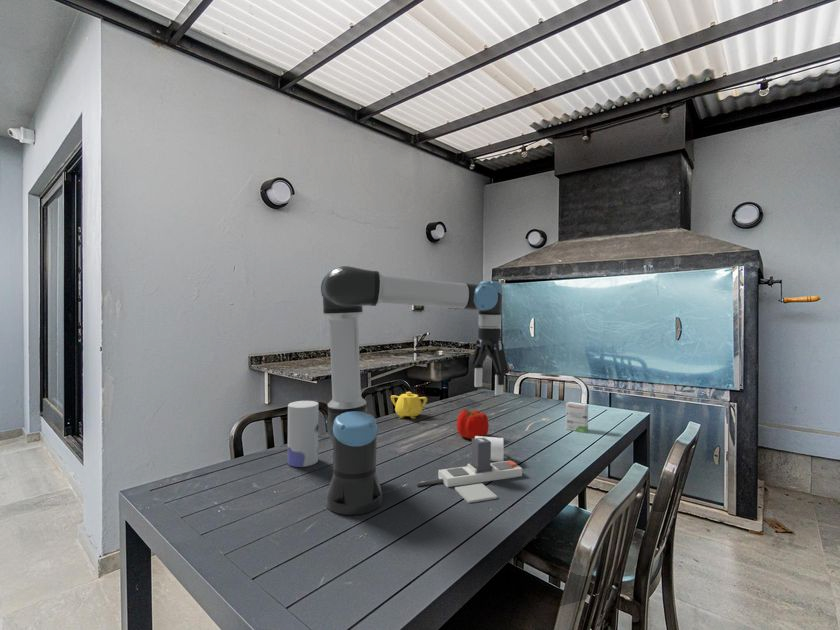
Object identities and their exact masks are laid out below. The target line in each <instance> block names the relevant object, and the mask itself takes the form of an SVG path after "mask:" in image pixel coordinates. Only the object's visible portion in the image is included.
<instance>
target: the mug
mask: <svg viewBox="0 0 840 630" xmlns="http://www.w3.org/2000/svg"><path fill="white" fill-rule="evenodd" d="M475 438H486V439H487V440H489V441H490V442H491V462H503V461H504V453H505V451H504V449H505V448H504V447H505V446H504V445H505V439H504V437H495V436H484V437H483V436H475Z"/></svg>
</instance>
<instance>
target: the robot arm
mask: <svg viewBox="0 0 840 630" xmlns="http://www.w3.org/2000/svg"><path fill="white" fill-rule="evenodd" d="M502 287H503V286H502V283H501V282H500V281H496V280H491V281H490V280H485V281H483V280H482V281H480V282H479V284H475V283H464V282H457V281H456V282H454V281H443V280H433V279H425V278H424V279H423V278H413V277H403V276H402V277H401V276H393V275H383V274H382V273H381V272H380V271H377V270H368V269H364V268H358V267H355V266H349V265H343V266H338V267H336V268H334V269H332V270H330V271H329V272H328V273H327V274H325V276H324V277H323V279H322V281H321V285H320V293H321V297H322V306H323V307H322V309H323V312H322V313H323V316H325V317H326V318H327V319H328V327H329V348H330V349H329V350H330V352H329V353H330V372H331V376H330V377H331V393H332V398H331V400H330V401H329V402H328V403H327V419H326V420H327V421H326V431H327V433H328V436H329V438H330V441H331V444H332V451H333V452H332V453H333V455H332V458H333V459H332V460H333V461H332V477H331V479H330V483H329V486H328V489H327V492H326V495H325V504H326V508H327V509H328V510H330V512H331V511H332V512H333V513H335V514H339V515H345V516H357V515H362V514H367V513H370V512H373V511H375V510H376V509H378V508H379V507H380V506H381V505H382V502H383V490H382V488H381V484H380V482H379V481H380V480H379V477H378V475H377V437H378V436H377V435H378V427H377V420H376V418H375V417H374V416H373V415H372V414H371V413H367V410H368V409H367V400H366V399H364V398H363V397H362V388H361V364H360V338H359V318H360V317H361V316H362V314H363V307H364V306H368V307H369V306H371V307H376V306H378V305H379V304H391V305H392V304H395V305H406V306H407V305H408V306H421V307H435V308H437V307H438V308H447V309H449V310H469V311H470V310H471V311H473V310H474V311H478V326H479V328H478V330H477V331H478V332H477V333H478V335H477V336H478V337H477V338H478V339H476V342H475V348H474V352H473V355H472V358H471V363H470V364H471V366H473V369H474V387H475V388H479V387H480V388H481V387H483V375H484V374H483V371H484V370H483V368H484V367H483V364H484V363H485V360H486V359H487V356H488V357H489V358H490V359H491V362H492V364H493V367H494V369H495V371H496V372H495V374H494V378H495V379H494V395H495V396H503V395H504V386H505V385H504V384H505V375H508V374H510V371H509V366H508V362H507V358H506V354H505V348H504V347H505V345H504V343H499V342H498V340H499V341H500V340H501V338H502V330H501V328H500V327H501V326H502V309H503V308H502V303H503V301H502V300H503V299H502V298H503V288H502Z"/></svg>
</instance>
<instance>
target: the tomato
mask: <svg viewBox="0 0 840 630" xmlns="http://www.w3.org/2000/svg"><path fill="white" fill-rule="evenodd" d="M489 425H490V424H489V419H488V416H487V414H486V413H484V412H480V410H472V411H469V410H468V409H463V410H461V411H460V412H459V414H458V415H457V419H456V430H457V433H458V434H459V435H460V436H461V437H463V438H466V439H470V440H472V439H475V436H483V437H487V435H488V433H489Z"/></svg>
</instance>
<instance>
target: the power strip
mask: <svg viewBox="0 0 840 630" xmlns="http://www.w3.org/2000/svg"><path fill="white" fill-rule="evenodd" d="M517 464H518V463H516V462H515V461H513V460H503V462H497V461H495V462H490V470H489V471H482V472H477V469H475V468H474V467H473V466H472V465H471V464H470V463H467V464H466V466H459V467H449V468H443V469H438V471H437V472H438V474H437V476H438V479H432V480H424V481H423V480H422V481H418V482H416V486H417V487H420V486H425V485H426V486H427V485H434V484H440V483H443V484H444V486H446V488H450V487H460V486H467V485H473V484H480V483H485V482H492V481H497V480H505V479H512V478H518V477H523V468H522V467H521V466H520V465H517Z"/></svg>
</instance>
